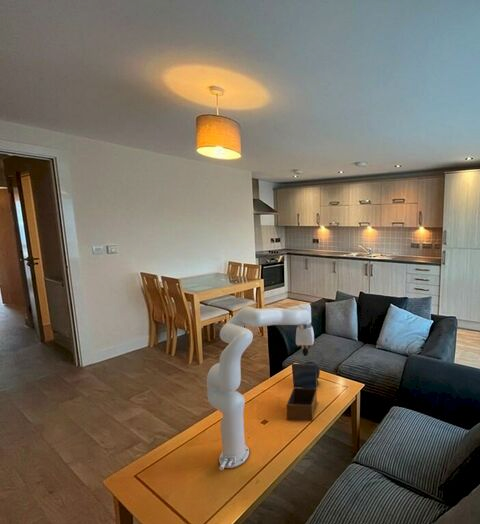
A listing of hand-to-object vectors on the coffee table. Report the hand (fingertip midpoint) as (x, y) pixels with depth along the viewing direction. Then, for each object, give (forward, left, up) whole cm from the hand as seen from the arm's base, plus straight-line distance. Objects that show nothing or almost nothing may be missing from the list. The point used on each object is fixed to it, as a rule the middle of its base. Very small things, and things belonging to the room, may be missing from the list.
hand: (305, 354), depth 166 cm
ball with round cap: (+16, +1, -29) cm, 33 cm away
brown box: (-10, 0, -29) cm, 30 cm away
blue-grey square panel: (-4, 0, -11) cm, 12 cm away
